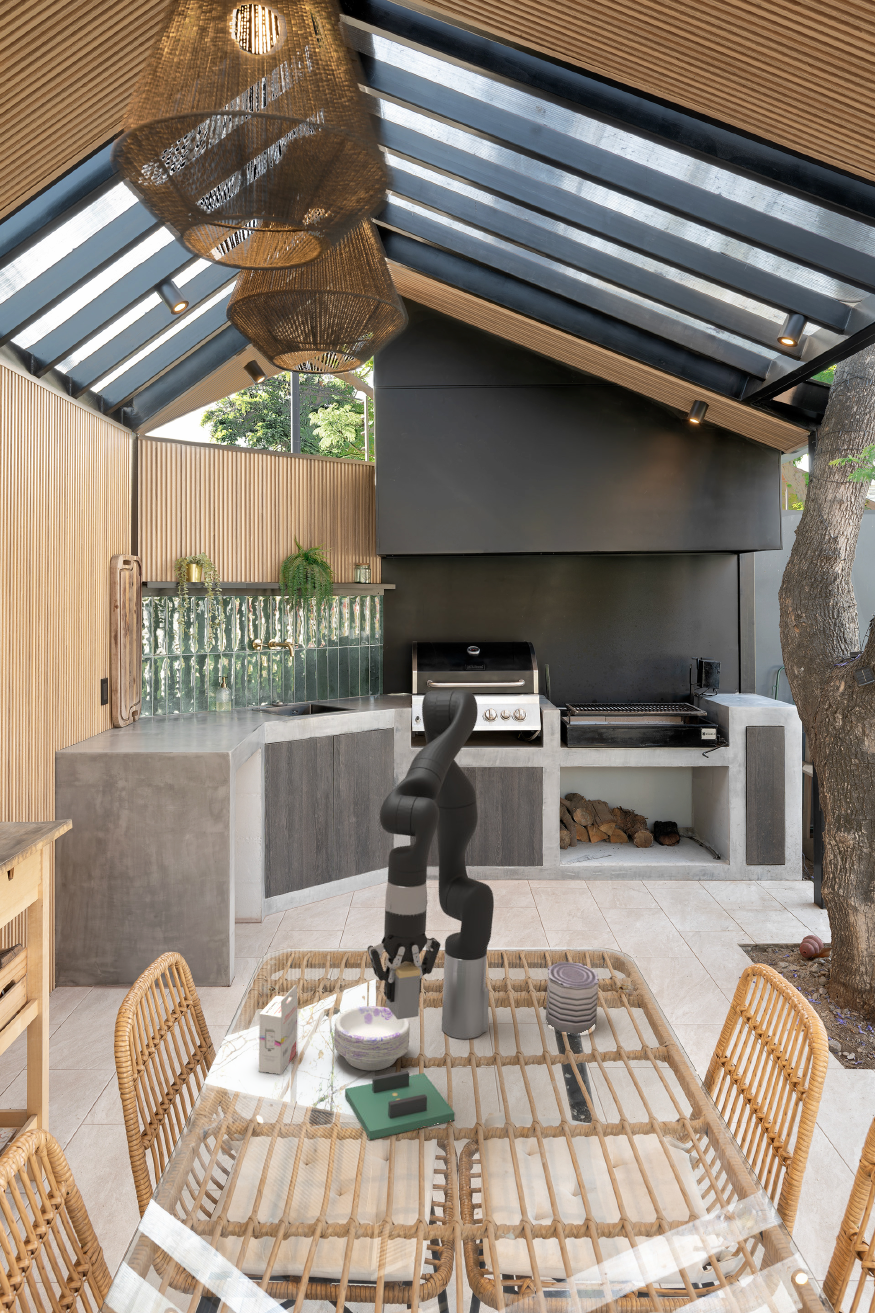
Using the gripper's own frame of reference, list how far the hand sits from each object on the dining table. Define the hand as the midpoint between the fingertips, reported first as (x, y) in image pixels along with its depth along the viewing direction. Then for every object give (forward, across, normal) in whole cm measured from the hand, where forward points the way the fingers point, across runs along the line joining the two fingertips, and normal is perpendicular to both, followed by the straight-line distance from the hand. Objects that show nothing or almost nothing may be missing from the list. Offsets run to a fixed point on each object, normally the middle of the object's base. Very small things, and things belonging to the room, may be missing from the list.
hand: (402, 998), depth 154 cm
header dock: (+21, 0, 0) cm, 21 cm away
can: (+21, -48, -17) cm, 55 cm away
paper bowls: (+21, -1, -18) cm, 27 cm away
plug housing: (+2, 0, 0) cm, 2 cm away
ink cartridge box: (+21, +17, -23) cm, 35 cm away
